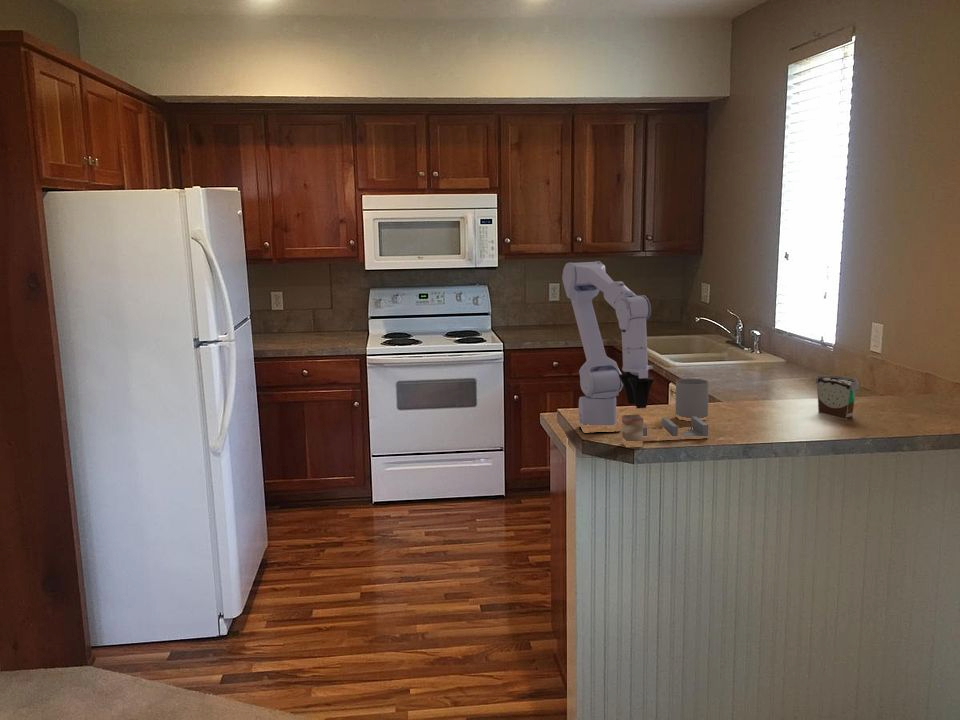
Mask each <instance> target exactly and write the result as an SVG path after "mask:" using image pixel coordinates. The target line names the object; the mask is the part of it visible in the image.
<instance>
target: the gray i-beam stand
mask: <svg viewBox="0 0 960 720" xmlns="http://www.w3.org/2000/svg"><path fill="white" fill-rule="evenodd" d="M661 424H662V426H663V427H664V428H665V429H666V430H667V431H668V432H669V433H670V434H671V435H672V436H678V427H679V426H678V425H677V424H675V423H674V421H672V420H671V419H669V417H662V423H661ZM662 426H661V427H662ZM690 426H691V429H690V430H689V429H688V430H686V431H685V432H683V433H684V434H683V435H682V436H708V437H709V424H708V423H706V422H705V421H702V420H700V419H699V418H698V417H696V416H693V417H691V422H690ZM692 427H693V430H692ZM647 428H648V427H647V426H646V425H645V423H643V436H647ZM687 431H688V432H687Z"/></svg>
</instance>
